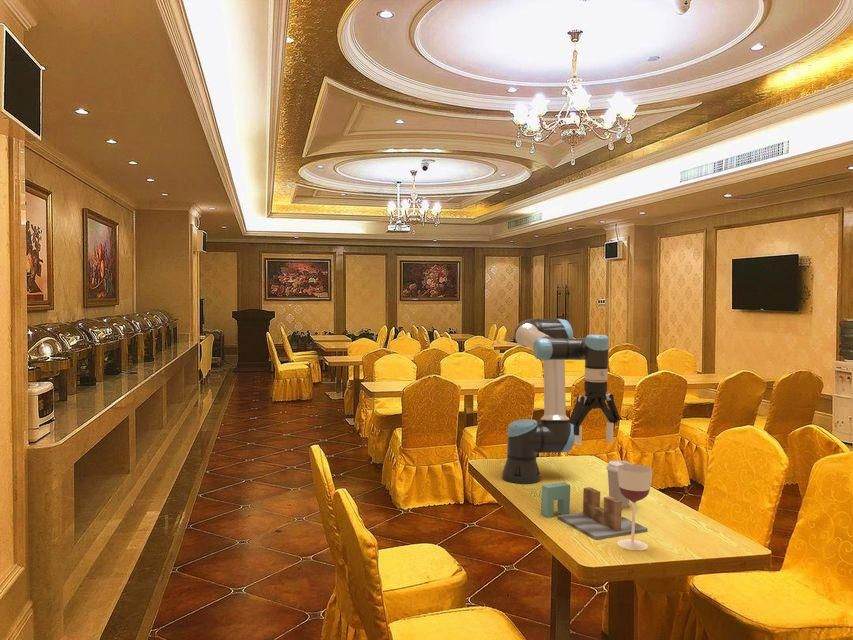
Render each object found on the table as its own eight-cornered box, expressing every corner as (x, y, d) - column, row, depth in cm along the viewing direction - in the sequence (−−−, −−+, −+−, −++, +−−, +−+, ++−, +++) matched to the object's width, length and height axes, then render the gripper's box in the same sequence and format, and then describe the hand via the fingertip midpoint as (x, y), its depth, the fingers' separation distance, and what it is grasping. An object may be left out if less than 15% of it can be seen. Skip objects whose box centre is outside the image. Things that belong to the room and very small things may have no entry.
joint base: (557, 518, 216) (558, 488, 216) (606, 511, 224) (606, 482, 224) (595, 539, 198) (596, 507, 197) (647, 531, 206) (648, 500, 205)
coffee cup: (634, 510, 226) (636, 467, 225) (606, 508, 228) (607, 465, 227) (631, 502, 235) (633, 461, 235) (604, 500, 237) (605, 459, 237)
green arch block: (541, 514, 220) (541, 484, 220) (563, 511, 224) (564, 482, 224) (547, 517, 217) (547, 487, 217) (569, 514, 221) (570, 485, 220)
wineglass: (610, 539, 199) (612, 464, 198) (642, 538, 200) (644, 464, 199) (622, 550, 190) (624, 472, 189) (655, 550, 191) (658, 472, 190)
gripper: (573, 383, 211) (571, 448, 212) (632, 380, 222) (629, 442, 223) (559, 380, 218) (557, 443, 219) (616, 377, 229) (614, 437, 230)
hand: (593, 443), depth 221 cm, fingers open, 13 cm apart
